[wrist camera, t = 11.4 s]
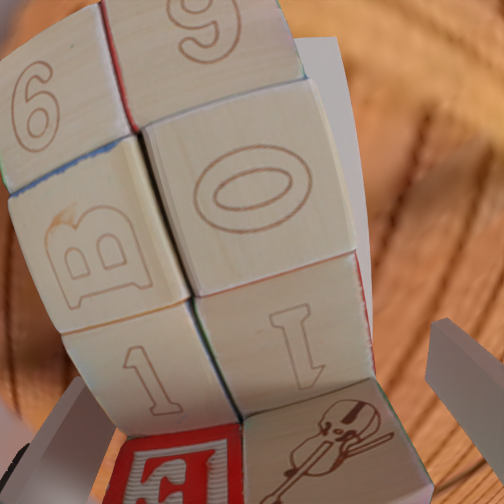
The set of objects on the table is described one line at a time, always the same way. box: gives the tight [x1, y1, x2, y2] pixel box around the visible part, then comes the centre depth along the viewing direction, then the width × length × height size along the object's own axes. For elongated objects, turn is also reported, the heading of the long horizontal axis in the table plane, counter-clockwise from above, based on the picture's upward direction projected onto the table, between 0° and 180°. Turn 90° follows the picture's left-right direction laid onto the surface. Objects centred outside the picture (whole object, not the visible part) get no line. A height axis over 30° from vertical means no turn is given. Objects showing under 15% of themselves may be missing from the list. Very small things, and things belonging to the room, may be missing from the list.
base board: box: [293, 37, 372, 339], centre depth 17 cm, size 27×12×3 cm, turn 9°
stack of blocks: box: [0, 0, 434, 504], centre depth 10 cm, size 21×6×12 cm, turn 16°
